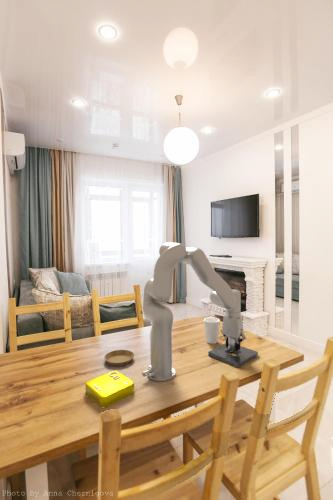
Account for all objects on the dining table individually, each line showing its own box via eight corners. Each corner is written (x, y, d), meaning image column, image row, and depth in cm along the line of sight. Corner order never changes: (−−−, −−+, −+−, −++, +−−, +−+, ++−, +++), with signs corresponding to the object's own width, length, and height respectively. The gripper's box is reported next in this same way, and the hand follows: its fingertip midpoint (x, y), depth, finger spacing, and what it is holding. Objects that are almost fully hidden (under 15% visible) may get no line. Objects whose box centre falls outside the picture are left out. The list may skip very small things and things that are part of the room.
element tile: (83, 392, 106) (83, 381, 106) (115, 378, 116) (115, 368, 116) (102, 410, 95) (102, 397, 95) (136, 393, 106) (136, 381, 105)
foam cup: (221, 344, 150) (221, 322, 150) (204, 344, 151) (204, 322, 150) (218, 338, 160) (218, 317, 159) (202, 338, 160) (202, 317, 159)
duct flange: (238, 367, 124) (238, 363, 124) (208, 355, 137) (208, 351, 137) (257, 355, 136) (257, 351, 136) (228, 345, 149) (228, 342, 149)
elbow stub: (234, 353, 133) (234, 337, 132) (225, 350, 137) (225, 334, 136) (240, 350, 136) (240, 334, 136) (231, 347, 140) (231, 332, 140)
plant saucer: (118, 352, 143) (118, 347, 143) (140, 358, 136) (139, 353, 135) (98, 363, 130) (98, 358, 130) (121, 371, 123) (120, 365, 123)
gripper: (215, 311, 139) (215, 345, 140) (244, 319, 127) (243, 356, 128) (223, 309, 144) (223, 341, 145) (252, 315, 132) (251, 351, 133)
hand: (232, 348), depth 136 cm, fingers closed on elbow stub, 5 cm apart
